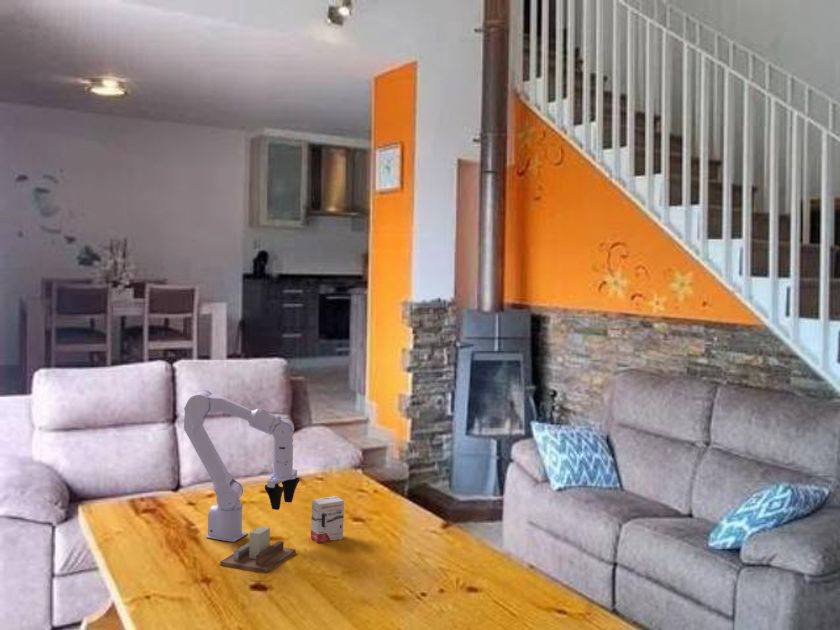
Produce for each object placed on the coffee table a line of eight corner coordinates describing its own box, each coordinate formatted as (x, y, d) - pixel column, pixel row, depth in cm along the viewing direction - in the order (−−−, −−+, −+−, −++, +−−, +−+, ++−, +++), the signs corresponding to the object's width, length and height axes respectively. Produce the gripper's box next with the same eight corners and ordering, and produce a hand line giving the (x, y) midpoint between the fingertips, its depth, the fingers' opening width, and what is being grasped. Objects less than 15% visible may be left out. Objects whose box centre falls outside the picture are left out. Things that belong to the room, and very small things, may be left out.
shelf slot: (220, 565, 208) (220, 552, 208) (251, 545, 223) (252, 533, 223) (266, 573, 203) (266, 560, 203) (295, 552, 218) (295, 540, 218)
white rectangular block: (249, 557, 211) (249, 532, 210) (259, 551, 216) (260, 526, 216) (258, 559, 210) (259, 534, 210) (269, 552, 215) (269, 528, 215)
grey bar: (233, 560, 209) (233, 551, 209) (256, 546, 220) (257, 537, 220) (238, 561, 208) (238, 552, 208) (261, 546, 220) (261, 538, 219)
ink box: (317, 543, 226) (318, 503, 226) (310, 538, 230) (311, 499, 230) (343, 538, 231) (344, 499, 230) (336, 533, 235) (337, 495, 234)
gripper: (283, 467, 222) (282, 514, 222) (306, 456, 235) (305, 500, 236) (261, 464, 224) (260, 511, 225) (285, 453, 238) (284, 497, 238)
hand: (282, 505), depth 231 cm, fingers open, 7 cm apart
